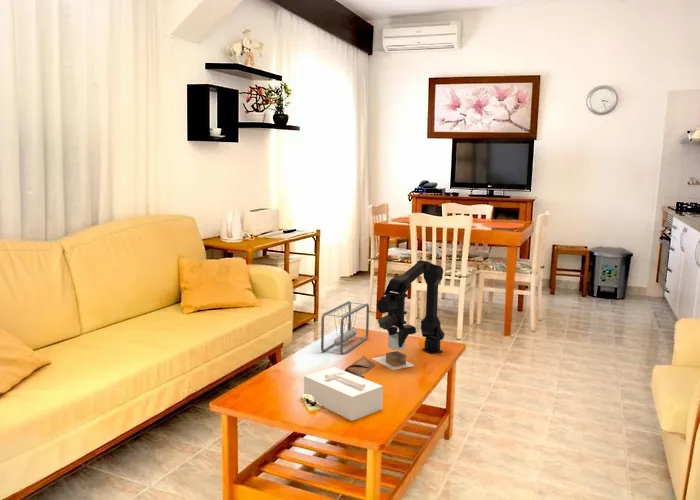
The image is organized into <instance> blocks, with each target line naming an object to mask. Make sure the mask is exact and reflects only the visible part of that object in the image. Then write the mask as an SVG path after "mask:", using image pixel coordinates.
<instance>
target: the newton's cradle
mask: <svg viewBox="0 0 700 500" xmlns="http://www.w3.org/2000/svg"><path fill="white" fill-rule="evenodd" d="M352 304H356V305H357V306H355V307H354V308H352ZM365 307H366V317H365V318H366V324H365V325H366V326H365V332H366V333H365V337H361V336H360V337H359V336H356V335H357V333H358V332H357V330H356V329H355V326H352V323H354V324H353V325H355V322H356V321H354V322H352V320H353V319H355V320H356V319H357V317H355V318H354V317H352V316H354V314H355V315H357V313H358V311H360V310H362V309H364V308H365ZM343 309H344V310H345V311H343ZM339 311H340V313H337V312H339ZM343 312H345V313H343ZM336 313H337V315H335V314H336ZM339 314H340V315H339ZM326 316H329V317H330V316H331V317H334V318H341V319H338V322H339V324H340V327H339V328H340V332H339V333H340V334H339V335H338V334H336V336H337V337H335V338H334V340H333V343H332V344H331V345H329V346H327V347H325V348H324V346H325V345H324V343H325V342H324V341H325V317H326ZM345 320H347V321H345ZM320 321H321V323H320V324H321V325H320V326H321V330H320V332H321V333H320V335H321V336H320V339H321V340H320V350H321V353H326V352H327V353H331V354H338V355H341V356H342V355H346V354H347V353H349V352H350V351H352V350H354V349H355V348H357V347H358V346H359V345H361V344H363V343H364V342H365V341H367V340H368V338H369V326H370V325H369V323H370V322H369V321H370V306H369V303H359V302H352V301H349V300H348V301H346V302H344V303H341V304H339V305H337V306H336V307H333V308H332V309H330V310H327V311H326V312H324V313H323V314H322V315H321V320H320ZM334 321H335V325H337V323H336V320H334ZM344 321H345V322H344ZM346 323H347V328H346V326H344V325H346ZM345 328H346V329H345ZM335 329H336V330H335V331H336V332H338V330H337V329H338V328H337V327H335ZM352 338H353V339H354V338H355V339H361V340H360V341H357V343H355V344H354V345H352V346H351V347H349V348H348V349H346V350H345V351H344V344H345V343H346V342H348V341H349V340H350V339H352ZM335 346H336V347H340V348H339V349H340V351H339V352H335V351H330V350H331V349H332V348H333V347H335Z"/></svg>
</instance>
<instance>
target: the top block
mask: <svg viewBox="0 0 700 500" xmlns="http://www.w3.org/2000/svg"><path fill="white" fill-rule="evenodd" d="M387 338H388V339H387V347H388V348H389V349H391V350H393V351H399V350H404V349H406V341H405V342H404V343H403V345H402V347H399V342H398V335H397V334H394V335H389V334H388V337H387Z"/></svg>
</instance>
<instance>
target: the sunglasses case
mask: <svg viewBox="0 0 700 500" xmlns="http://www.w3.org/2000/svg"><path fill="white" fill-rule="evenodd" d="M376 365H377V363H375V362H373V361H372V360H370V359H368V358H367V357H366V356H365V355H363V356H362V357H361V358H359V359H357V360H356V361H354V362H353V363H351V364H350V365H348V366H347V367H346V368H345V369H344V371H346V372H348V373H351V374H353V375H356V376H359V377H361V378H364V379H365V376H364V375H365V374H367V373H368V372H369V371H370V370H372V369H373V368H374V367H376Z"/></svg>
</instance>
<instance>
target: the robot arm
mask: <svg viewBox="0 0 700 500" xmlns="http://www.w3.org/2000/svg"><path fill="white" fill-rule="evenodd" d="M421 275H423V279H424V282H425V283H426V299H425V300H426V302H425V316H424V318H423V319H422V320H421V321H420V328H419V329H420V331H421V335H422V337H424V338H425V339H424V347H423V348H422V351H425V352H427V353H429V354H436V353H442V352H443V350H442V349H441V341H443V340H444V338H445V332H444V331H443V330H442V329H443V328H441V320H440V319H439V317H438V302H439V284H440V283H441V281H442V280H443V276H444V269H443V267H442V265H439V264H434V263H431V262H430V261H428V260H422V259H420V260H418V261H416V263H415V264H413V266H412V267H410V268H409V269H407V270H406V271H405V272H404V273H403V274H401V275H396V276H393V277H392V278H391V279H390V280H389V281H388V284H387V286H386V288H385V290H384V293H383V295H381V296H380V299H379V300H378V301H377V304H376V308H377V310H378V312H379V313H380V314H387V315H385V316H382V317H380V318H379V319H377V322H378V326H379V328H380V329H383V330H386V331H387V332H388V335H394V334H397V335H398V342H399V347H402V345H403V343H404V342H405V343H406V339H407V338H408V336H409V335H413V334H416V333H417V328H416V327H415V326H414V325H412V324H407V321H406V320H405V315H407V311H406V310H405V308H406V307H405V306H406V305H405V304H406V303H405V302H406V300H405V299H406V298H408V296H409V295H408V294H407V292H408V291H409V289H410V288H411V284H412V283H413V282H414V281H416V280H417V279H418V278H419V277H420V276H421Z"/></svg>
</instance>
